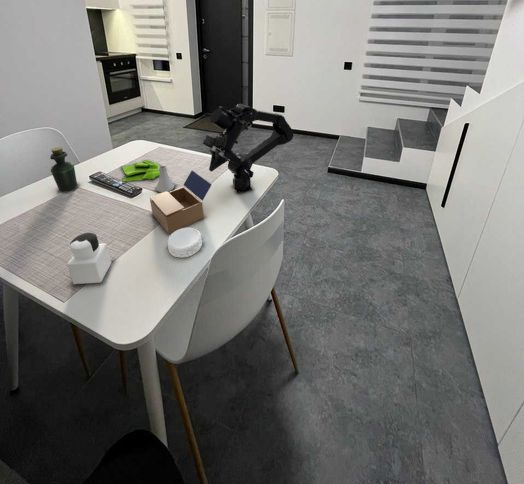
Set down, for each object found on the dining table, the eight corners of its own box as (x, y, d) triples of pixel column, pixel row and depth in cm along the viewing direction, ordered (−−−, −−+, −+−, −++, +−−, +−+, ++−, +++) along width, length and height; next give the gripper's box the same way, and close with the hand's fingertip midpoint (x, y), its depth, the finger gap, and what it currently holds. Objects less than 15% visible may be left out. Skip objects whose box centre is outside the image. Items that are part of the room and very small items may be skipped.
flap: (183, 184, 108) (184, 185, 108) (201, 200, 98) (202, 200, 99) (191, 170, 109) (192, 170, 109) (211, 184, 99) (211, 184, 99)
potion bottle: (83, 182, 124) (73, 144, 117) (72, 192, 117) (60, 152, 110) (64, 183, 124) (53, 144, 117) (52, 193, 116) (39, 153, 110)
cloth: (157, 181, 125) (156, 176, 124) (107, 181, 125) (106, 176, 124) (171, 161, 144) (171, 156, 143) (128, 161, 144) (127, 156, 143)
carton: (185, 200, 111) (183, 184, 108) (203, 217, 101) (202, 200, 98) (152, 214, 103) (149, 197, 100) (168, 234, 93) (165, 215, 91)
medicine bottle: (86, 264, 82) (75, 230, 77) (112, 262, 82) (103, 228, 78) (73, 285, 75) (60, 249, 70) (101, 283, 76) (90, 247, 71)
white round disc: (185, 263, 82) (183, 254, 80) (161, 250, 87) (160, 241, 85) (208, 242, 89) (207, 233, 88) (186, 231, 94) (184, 222, 93)
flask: (169, 193, 116) (165, 172, 112) (153, 192, 117) (149, 170, 113) (177, 184, 122) (174, 164, 119) (162, 183, 124) (158, 162, 120)
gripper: (203, 119, 109) (182, 154, 108) (230, 132, 96) (207, 173, 94) (223, 131, 117) (204, 164, 115) (251, 145, 103) (229, 183, 102)
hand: (210, 170), depth 107 cm, fingers closed
